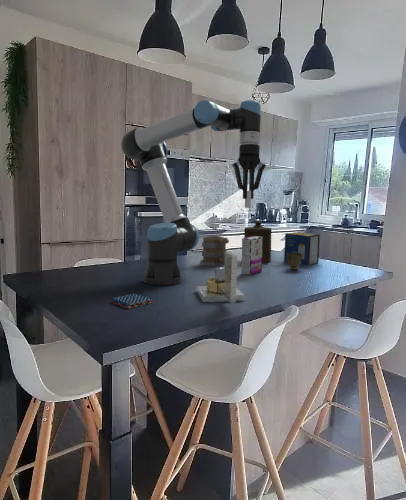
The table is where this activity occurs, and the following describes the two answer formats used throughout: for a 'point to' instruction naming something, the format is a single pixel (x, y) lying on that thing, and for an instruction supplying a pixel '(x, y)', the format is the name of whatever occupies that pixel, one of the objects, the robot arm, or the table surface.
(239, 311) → the table surface
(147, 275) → the robot arm
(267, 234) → the wooden container
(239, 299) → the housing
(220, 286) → the ring nut
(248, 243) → the candy bar box
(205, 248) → the tankard
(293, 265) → the cup
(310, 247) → the protein box
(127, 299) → the woven mat
